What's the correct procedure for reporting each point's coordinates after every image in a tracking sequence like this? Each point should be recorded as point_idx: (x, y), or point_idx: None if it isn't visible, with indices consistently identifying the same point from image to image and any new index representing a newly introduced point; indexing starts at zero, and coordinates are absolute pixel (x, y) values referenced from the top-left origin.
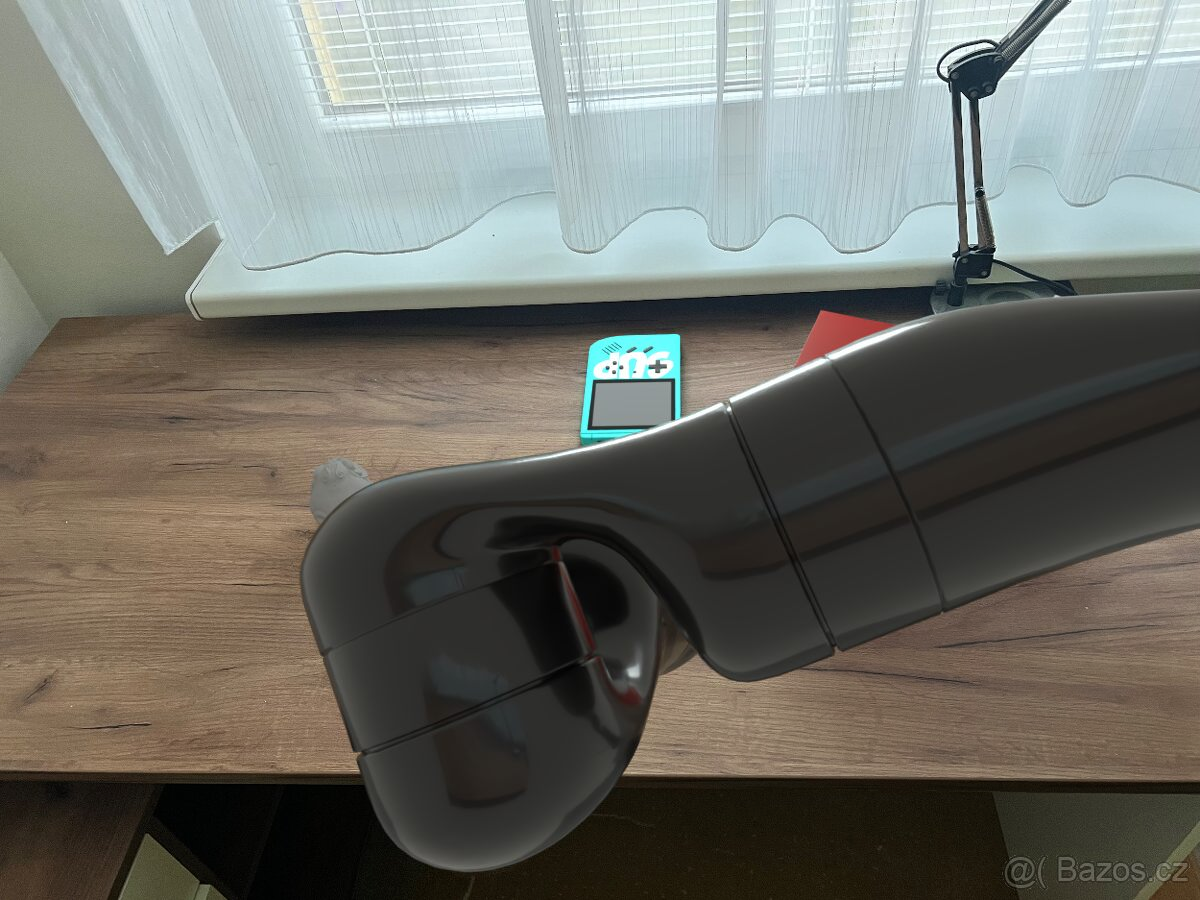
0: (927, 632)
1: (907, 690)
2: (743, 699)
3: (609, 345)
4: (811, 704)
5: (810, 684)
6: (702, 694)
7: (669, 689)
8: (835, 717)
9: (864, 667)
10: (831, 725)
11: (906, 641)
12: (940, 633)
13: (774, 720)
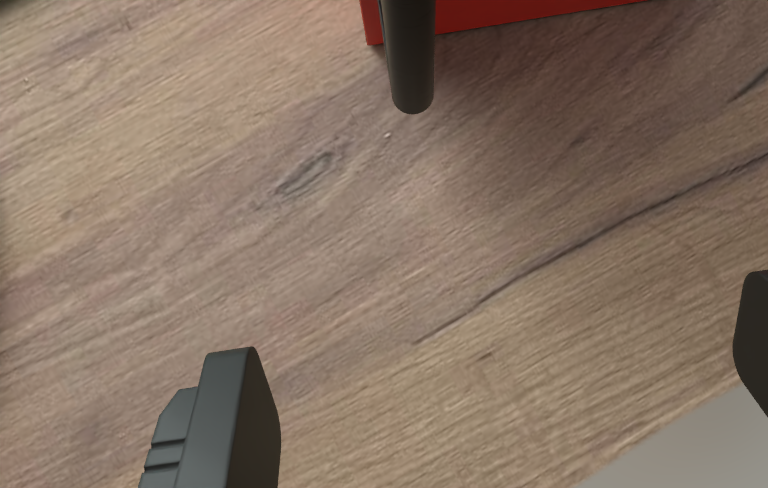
0: (705, 81)
1: (728, 203)
2: (495, 369)
3: None
4: (602, 314)
5: (582, 279)
6: (427, 399)
7: (370, 422)
8: (650, 316)
9: (646, 200)
10: (651, 333)
11: (683, 116)
12: (724, 72)
13: (562, 377)
